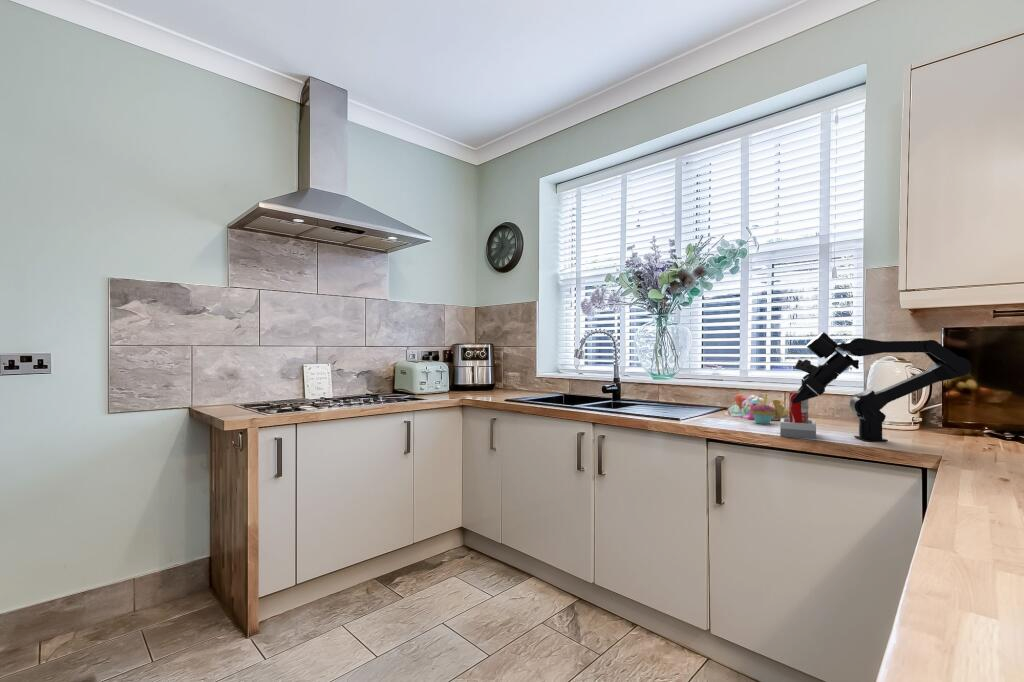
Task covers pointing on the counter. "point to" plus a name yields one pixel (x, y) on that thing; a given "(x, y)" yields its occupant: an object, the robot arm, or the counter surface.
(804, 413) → the soda can
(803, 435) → the socket block
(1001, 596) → the counter surface
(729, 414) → the colorful dessert platter
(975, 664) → the counter surface
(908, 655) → the counter surface
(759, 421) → the cupcake
